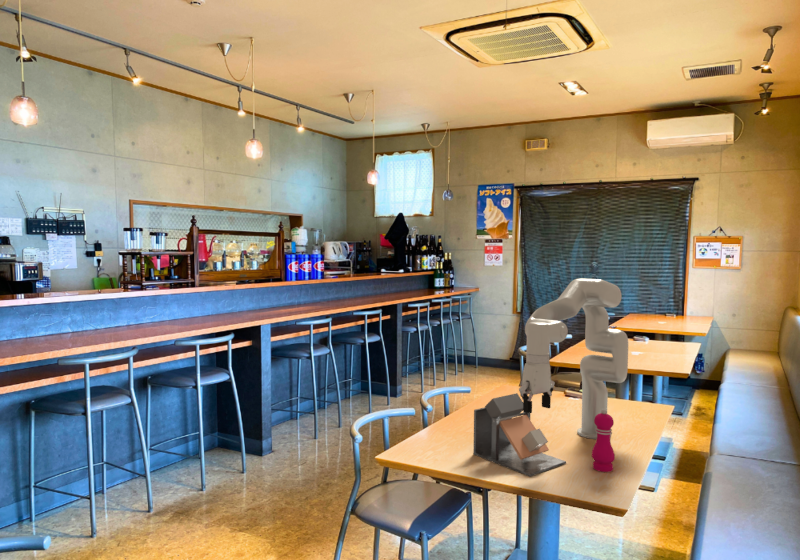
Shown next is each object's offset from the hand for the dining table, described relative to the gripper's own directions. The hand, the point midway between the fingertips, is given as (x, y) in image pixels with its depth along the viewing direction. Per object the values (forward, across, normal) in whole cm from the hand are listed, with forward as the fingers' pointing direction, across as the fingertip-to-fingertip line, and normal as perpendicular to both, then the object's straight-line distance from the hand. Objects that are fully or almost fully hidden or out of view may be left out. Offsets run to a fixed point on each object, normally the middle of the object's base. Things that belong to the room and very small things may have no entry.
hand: (536, 409), depth 187 cm
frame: (+19, 0, -7) cm, 20 cm away
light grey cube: (+12, 0, -3) cm, 13 cm away
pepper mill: (+19, -15, +15) cm, 29 cm away
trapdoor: (+9, 0, -10) cm, 14 cm away
